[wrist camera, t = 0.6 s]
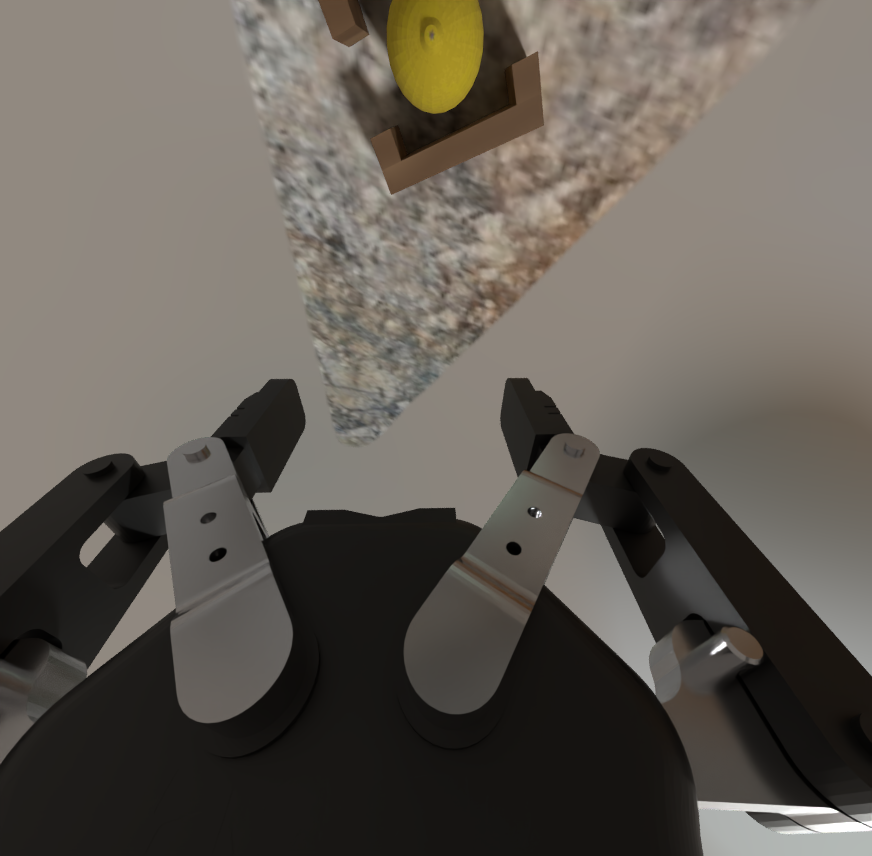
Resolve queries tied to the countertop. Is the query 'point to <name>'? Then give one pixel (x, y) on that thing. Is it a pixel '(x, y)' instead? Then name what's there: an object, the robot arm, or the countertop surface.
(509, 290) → the countertop surface
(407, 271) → the countertop surface
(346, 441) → the countertop surface
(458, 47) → the lemon
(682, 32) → the countertop surface
